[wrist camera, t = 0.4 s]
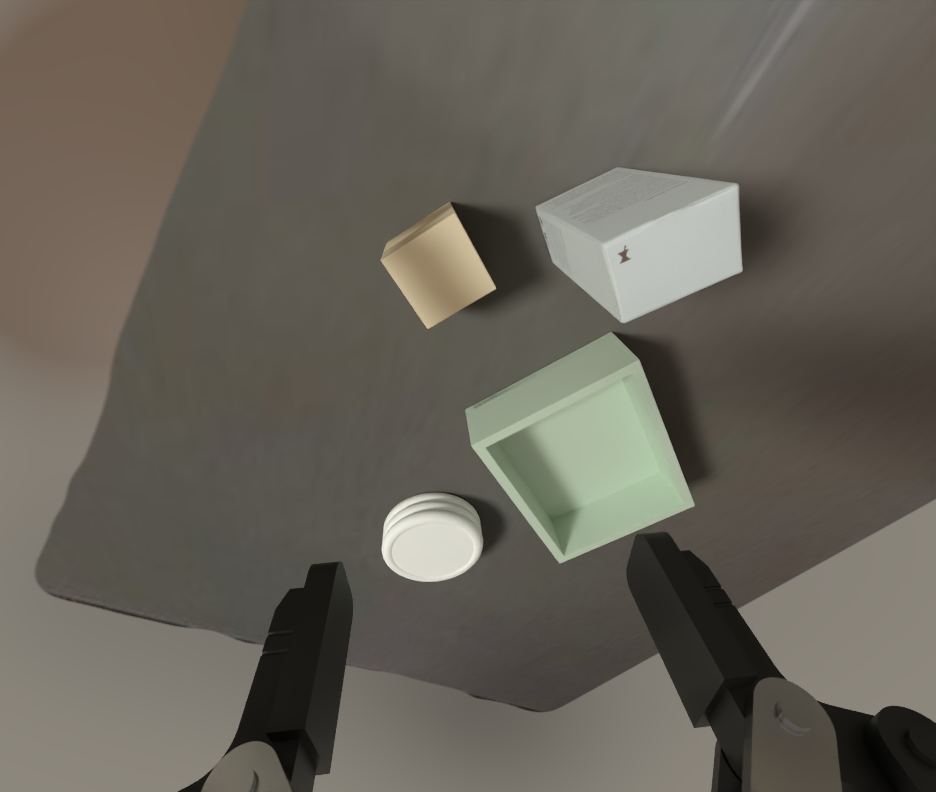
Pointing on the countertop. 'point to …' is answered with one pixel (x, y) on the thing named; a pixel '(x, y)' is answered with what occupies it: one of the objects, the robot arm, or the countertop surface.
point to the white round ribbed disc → (432, 537)
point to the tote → (582, 449)
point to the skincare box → (644, 237)
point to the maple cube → (437, 266)
